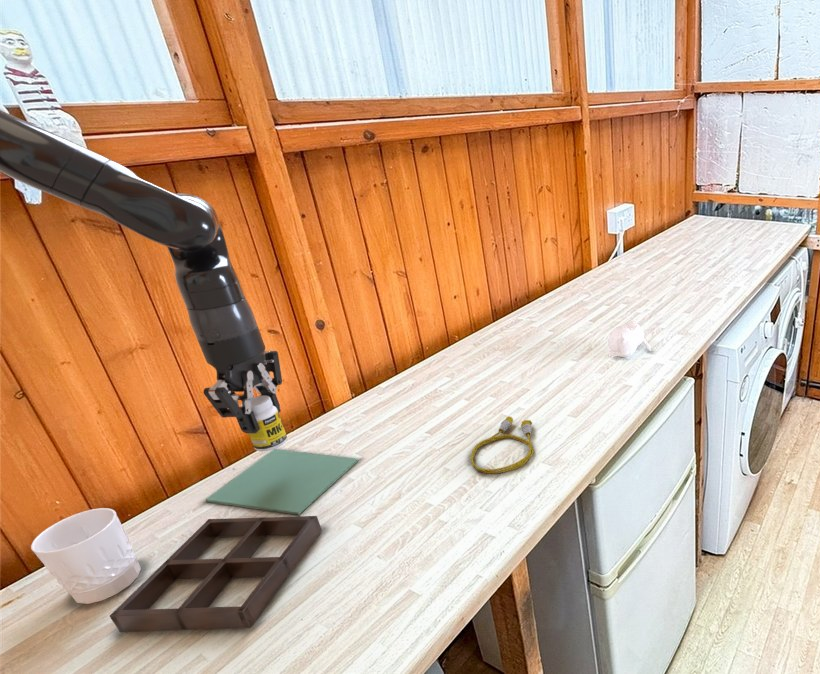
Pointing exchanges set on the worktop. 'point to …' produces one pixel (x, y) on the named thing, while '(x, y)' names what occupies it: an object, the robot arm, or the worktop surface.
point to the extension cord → (503, 427)
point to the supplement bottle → (267, 425)
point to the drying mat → (283, 481)
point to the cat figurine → (626, 340)
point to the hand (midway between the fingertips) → (263, 422)
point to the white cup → (88, 555)
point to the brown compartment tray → (219, 575)
